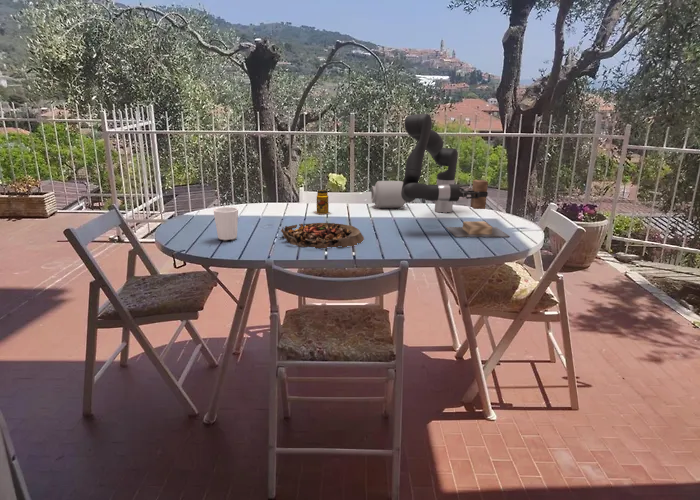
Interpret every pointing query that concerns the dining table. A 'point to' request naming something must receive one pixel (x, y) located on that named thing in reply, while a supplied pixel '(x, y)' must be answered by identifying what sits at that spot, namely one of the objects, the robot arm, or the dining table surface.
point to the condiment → (322, 202)
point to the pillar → (481, 187)
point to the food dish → (322, 235)
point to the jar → (387, 194)
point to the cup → (226, 223)
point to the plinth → (476, 230)
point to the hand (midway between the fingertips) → (485, 193)
